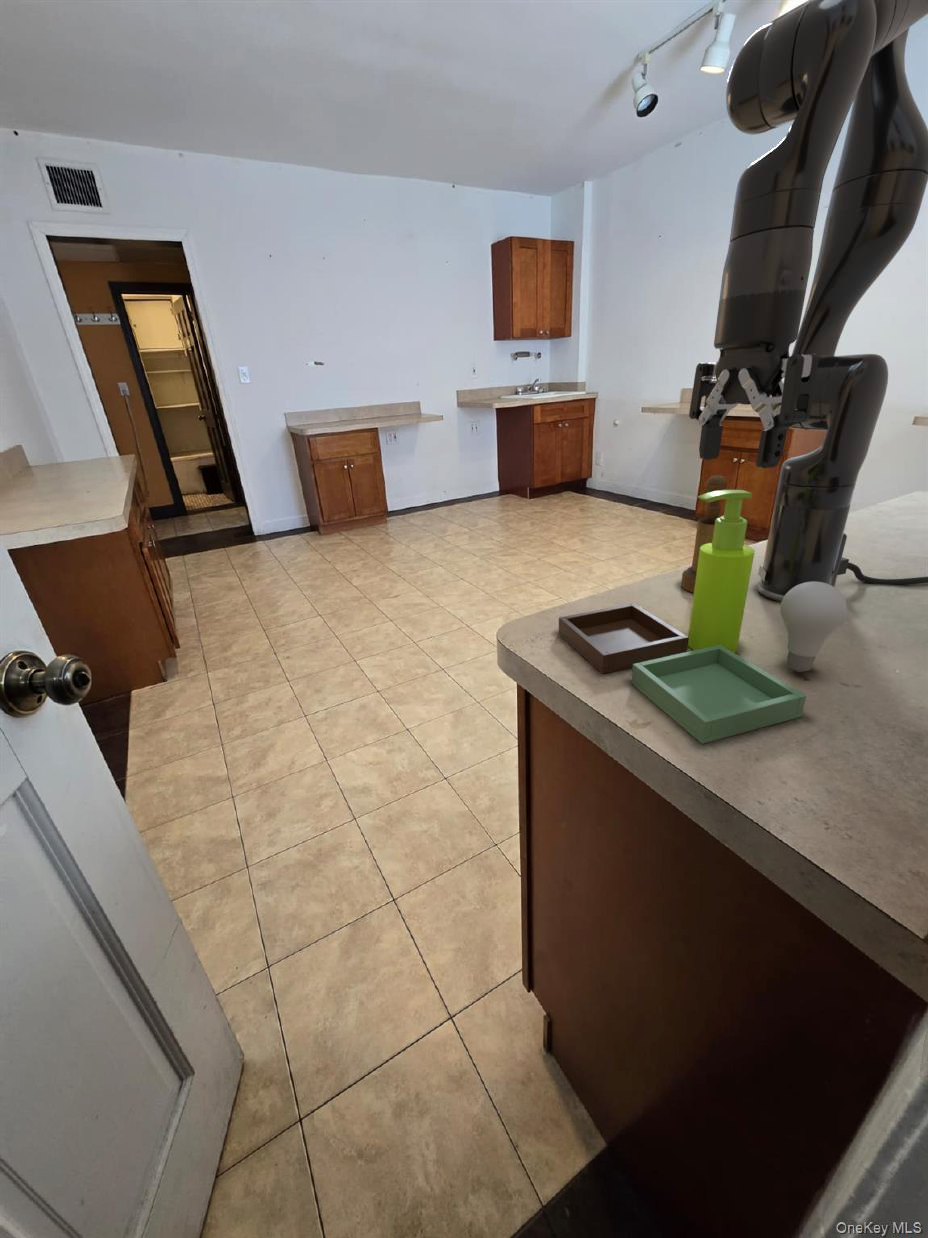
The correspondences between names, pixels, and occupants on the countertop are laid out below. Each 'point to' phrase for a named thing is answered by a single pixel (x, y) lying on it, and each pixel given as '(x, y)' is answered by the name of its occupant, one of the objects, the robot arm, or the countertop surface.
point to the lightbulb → (810, 620)
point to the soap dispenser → (722, 577)
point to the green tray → (716, 693)
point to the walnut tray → (621, 637)
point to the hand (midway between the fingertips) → (735, 462)
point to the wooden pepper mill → (704, 530)
